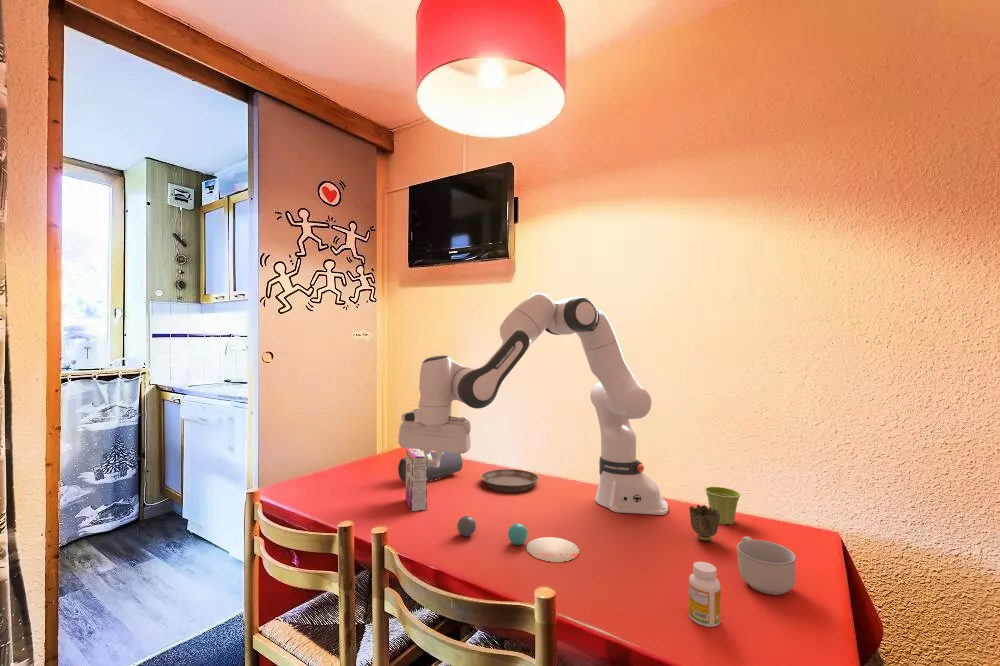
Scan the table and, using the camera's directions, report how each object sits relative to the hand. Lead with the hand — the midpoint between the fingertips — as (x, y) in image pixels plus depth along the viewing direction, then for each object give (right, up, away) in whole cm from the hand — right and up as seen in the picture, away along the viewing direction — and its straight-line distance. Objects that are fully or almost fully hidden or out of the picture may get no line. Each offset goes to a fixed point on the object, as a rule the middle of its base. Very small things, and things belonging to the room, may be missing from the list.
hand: (433, 466), depth 119 cm
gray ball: (+9, -15, -3) cm, 18 cm away
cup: (+72, -19, -3) cm, 75 cm away
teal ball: (+23, -15, -7) cm, 28 cm away
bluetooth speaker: (-8, -18, +44) cm, 48 cm away
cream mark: (+31, -18, -10) cm, 37 cm away
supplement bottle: (+56, -18, -37) cm, 70 cm away
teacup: (+75, -18, -24) cm, 81 cm away
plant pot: (+84, -19, +10) cm, 86 cm away
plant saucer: (+22, -19, +40) cm, 49 cm away
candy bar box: (-8, -18, +18) cm, 26 cm away
